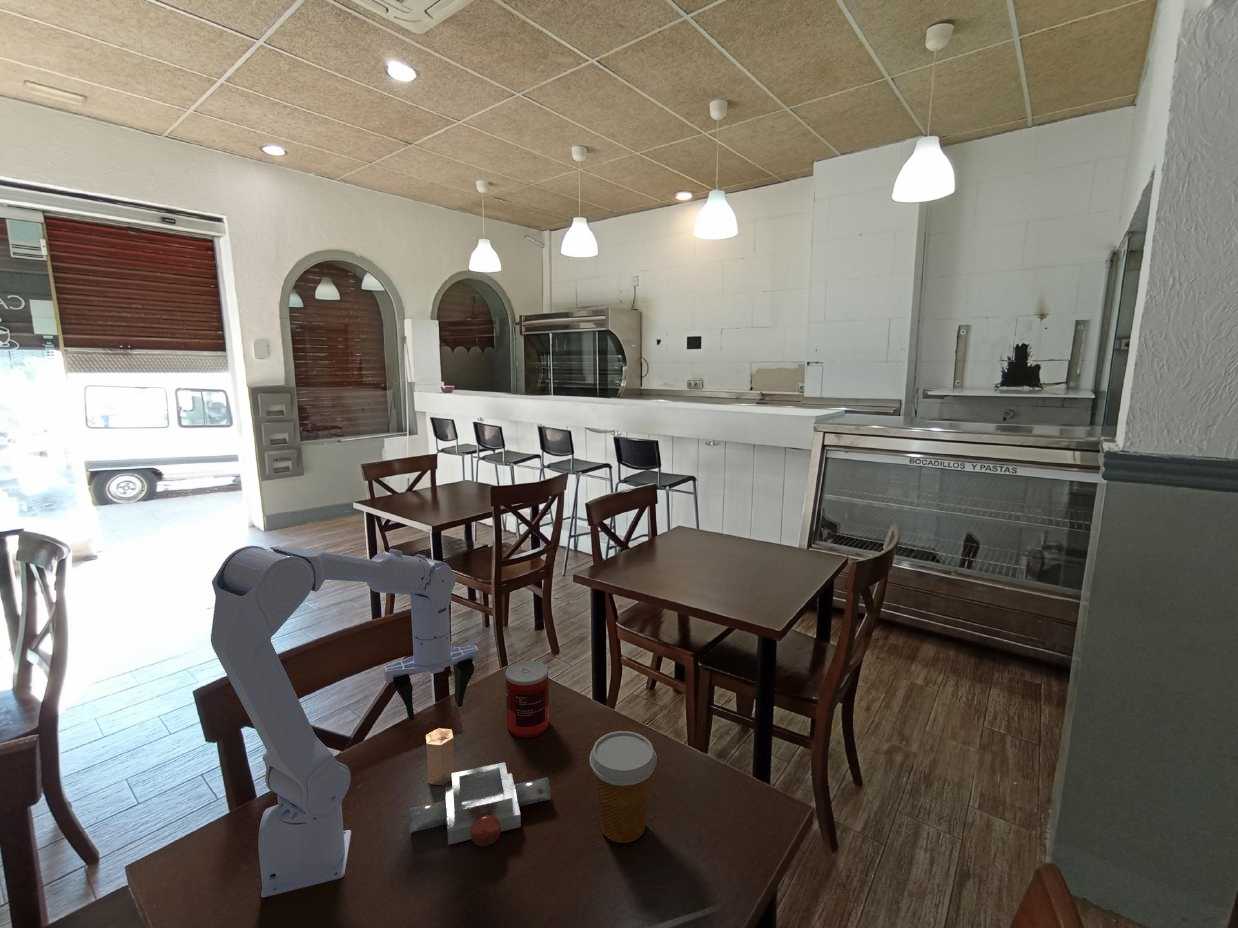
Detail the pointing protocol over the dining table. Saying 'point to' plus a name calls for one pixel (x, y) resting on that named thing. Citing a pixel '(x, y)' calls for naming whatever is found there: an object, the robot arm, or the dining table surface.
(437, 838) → the dining table surface
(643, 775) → the disposable coffee cup
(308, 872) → the robot arm
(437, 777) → the wooden hexagonal prism
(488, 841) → the valve body
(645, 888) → the dining table surface
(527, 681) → the canned food
